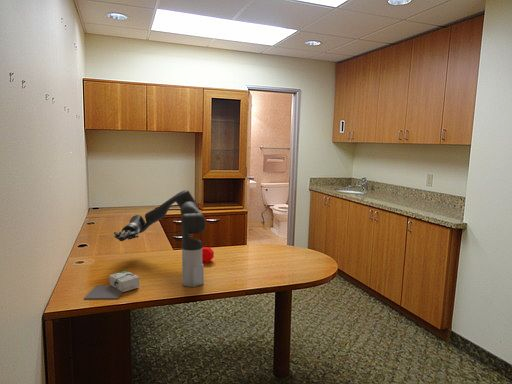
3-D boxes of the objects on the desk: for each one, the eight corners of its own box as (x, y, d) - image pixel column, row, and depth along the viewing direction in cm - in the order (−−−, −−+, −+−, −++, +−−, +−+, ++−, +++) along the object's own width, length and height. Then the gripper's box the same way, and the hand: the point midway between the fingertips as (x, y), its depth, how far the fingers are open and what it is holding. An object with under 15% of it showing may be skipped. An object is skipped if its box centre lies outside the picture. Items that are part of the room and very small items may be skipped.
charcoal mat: (127, 286, 168) (127, 285, 168) (117, 299, 155) (117, 297, 155) (96, 286, 167) (96, 285, 167) (83, 299, 154) (83, 298, 154)
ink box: (126, 269, 174) (140, 276, 166) (126, 279, 174) (140, 287, 167) (108, 274, 167) (122, 282, 159) (109, 285, 168) (122, 292, 160)
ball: (214, 259, 208) (214, 246, 207) (209, 264, 200) (209, 250, 199) (201, 258, 209) (201, 245, 208) (196, 263, 202) (196, 249, 201)
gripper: (143, 237, 199) (135, 246, 181) (118, 237, 198) (107, 246, 181) (143, 223, 198) (134, 231, 180) (118, 223, 197) (106, 231, 180)
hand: (121, 239), depth 181 cm, fingers closed
